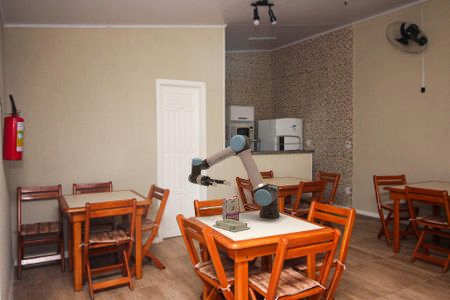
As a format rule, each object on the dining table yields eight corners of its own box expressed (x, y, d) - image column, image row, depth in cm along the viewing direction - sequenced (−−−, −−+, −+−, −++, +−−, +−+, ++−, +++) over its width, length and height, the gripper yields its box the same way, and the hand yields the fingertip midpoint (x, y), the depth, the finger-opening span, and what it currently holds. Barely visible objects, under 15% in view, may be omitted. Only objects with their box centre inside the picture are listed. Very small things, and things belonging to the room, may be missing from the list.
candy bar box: (234, 220, 246) (235, 197, 246) (239, 221, 242) (239, 197, 242) (221, 222, 239) (222, 198, 239) (226, 223, 235) (226, 199, 235)
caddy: (228, 223, 236) (228, 218, 236) (250, 228, 221) (250, 223, 221) (212, 226, 226) (212, 221, 226) (234, 232, 212) (234, 226, 211)
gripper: (216, 184, 270) (235, 188, 255) (190, 186, 253) (209, 190, 238) (216, 174, 270) (236, 178, 254) (191, 176, 253) (210, 179, 237)
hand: (223, 184), depth 246 cm, fingers open, 13 cm apart
